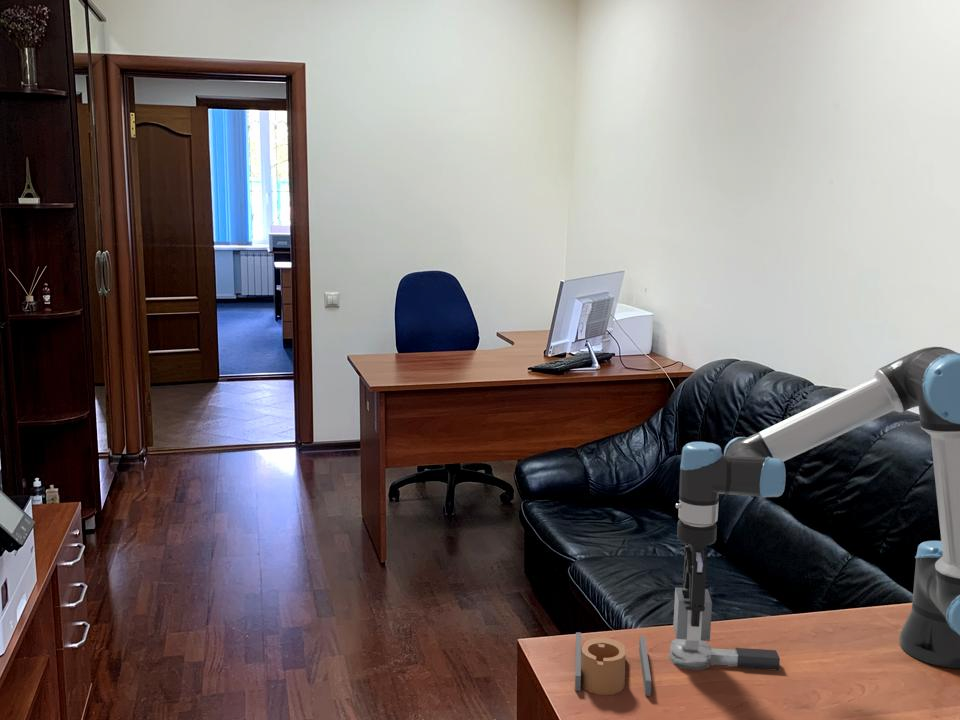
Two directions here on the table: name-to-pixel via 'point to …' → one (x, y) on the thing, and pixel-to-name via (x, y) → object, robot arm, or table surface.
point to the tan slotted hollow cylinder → (603, 666)
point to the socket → (682, 613)
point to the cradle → (642, 658)
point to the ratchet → (720, 656)
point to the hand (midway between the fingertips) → (691, 631)
